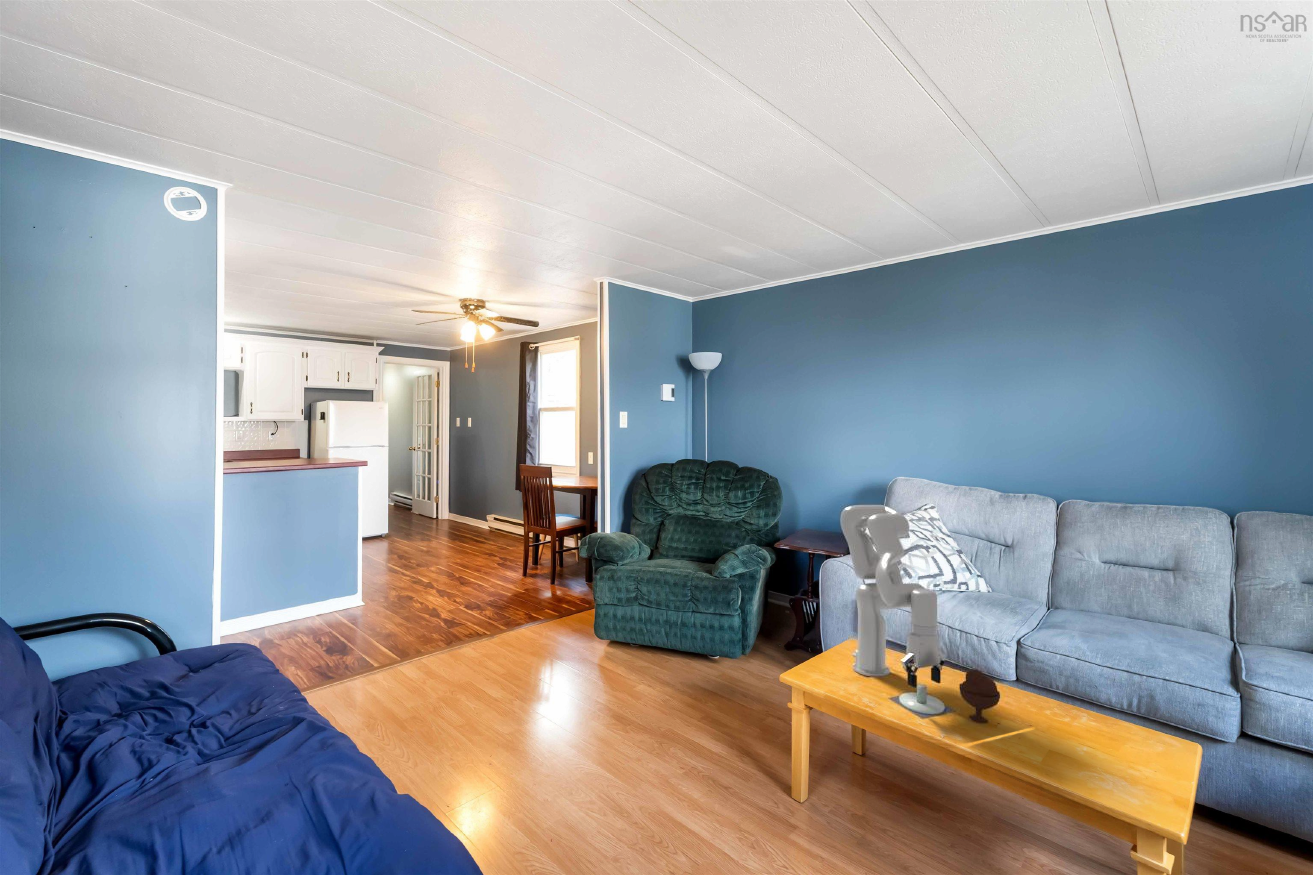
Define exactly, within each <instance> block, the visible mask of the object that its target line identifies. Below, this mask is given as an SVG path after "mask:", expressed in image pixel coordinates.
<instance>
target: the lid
mask: <svg viewBox="0 0 1313 875" xmlns="http://www.w3.org/2000/svg"><path fill="white" fill-rule="evenodd" d="M916 692H917V693H916ZM916 692H904V693H902V694H900V695H899V696H900V697H899V701H900V703H901V704H902V705H903V706H904V707H905V708H907V709H909V710H911V711H914V712H917V713H922V714H929V715H935V714H940V713H942V712H944V709H945V706H944V704H945V703H943V701H942V700H940V699H938V698H937V697H934V696H932V695H929V694H927V693H928V687H927V685H925V684H921V683H920V684H919V683H917V688H916ZM905 708H904V709H905ZM907 709H906V710H907Z"/></svg>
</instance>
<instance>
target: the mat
mask: <svg viewBox="0 0 1313 875" xmlns="http://www.w3.org/2000/svg"><path fill="white" fill-rule="evenodd" d="M915 693H917V691H916V692H915ZM899 697H900V695H896V696H891V697H888V698H887V699H889V700H890V701H892V702H893V703H895V704H897V705H899V706H900V707H902V708H903V709H905V710H907V711H908V712H910V713H912V714H914V715H915V716H917V717H918V718H920V719H922V720H923V719H924V720H925V719H928V718H932V717H938V716H941V715H946V714H951V713H955V712H957V710H956V709H954V708H953V707H951V706H949V705H947V704H945V703H943V704H944V706H945V709H944V712H942V713H940V714H935V715H929V714H922V713H917V712H914V711H911V710H909V709H907V708H905V707H904V706H903V705H902V704H901V703H900V701H899Z"/></svg>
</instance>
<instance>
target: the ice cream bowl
mask: <svg viewBox="0 0 1313 875" xmlns="http://www.w3.org/2000/svg"><path fill="white" fill-rule="evenodd" d="M958 686H959V687H958V688H959V692H960V696H961V698H962V699H963V700H964V701H965V702H966V704H968V705H970V706H971V707H973V708H974V709H975V713H974V714H972V715H969V717H968V719H969V720H970V721H972V722H974V723H978V724H983V725H985V724H988V723H989V719H987V718H986V717H984V716H983V711H984V710H987V709H988V710H989V709H992V708H994V707H995V706H997V705H998V703H999V702H1000V698H1001V693H1000V691H999V690H998V686H997V684H996V682H995V681H994V680H993V679H992V678H990V677H988V676H986V675H985V674H984V673H983V671H981V670H979V669H977V668H976V669H975V668H973V669H970V670H968V671H967V672H966V673H965V680H964V681H963V682H962V683H959V685H958Z"/></svg>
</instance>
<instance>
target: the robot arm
mask: <svg viewBox="0 0 1313 875" xmlns="http://www.w3.org/2000/svg"><path fill="white" fill-rule="evenodd" d="M840 527H841V530H842V533H843V536H844V538H845V540H846V542H847V545H848V548H849V553H850V557H851V562H852V566H853V571H854V573H855V575H856V577H857V578H858V579H860V580H863V581H865V580H866V581H867V580H868V581H869V580H870V581H871V580H875V582H867V583H863V584H861V585H859V586H858V587H857V589H856V592H855V599H856V600H855V601H856V605H857V616H858V617H857V623H858V624H857V649H856V650H855V651H854V652H853V653H852V654H851V656H852V658H855V661H854V662H853V664H852V669H853V671H855V672H856V673H857V674H860V675H863V676H866V677H871V678H875V677H886V676H888V675H890V674H891V669H890V667H889V666H887V665H886V658H887V657H886V651H887V649H886V646H887V645H886V644H887V622H886V619H885V618H884V616H883V614H882V613H881V611H884V610H885V611H886V610H887V611H888V610H898V609H901V608H910V632H908V637H907V641H906V642H907V643H906V652H905V654H906V655H905V657H903V658H902V659H901V660H900V662H901V664H902V666H903V667H902V668H903V669H904V670H905V672H906V673H907V682H906V683H907V686H910V687H912V688H914V689H917V685H918V675H917V674H916V673H917V672H918V670H919V669H924V668H929V667H930V680H931V681H932V682H934V683H936V684H941V683H942V682H941V671H942V670H943V666H944V664H945V660H946V657H947V654H946V653H943V652H942V651H941V643H940V639H939V634H938V628H939V625H938V595H937V594H938V593H936V591H934V590H932V589H929V588H925V587H924V586H923V585H922V584H919V583H915V582H910V583H909V582H907V583H905V582H903V579H902V578H903V577H902V573H901V570H900V567H899V564H898V561H899V560H901V559H902V558H903V557H904V555H905V549H904V548H903V545H902V543H901V540H900V538H903V537H906V536H907V535H908V534H909V532H910V524H909V521H908V519H907V518H906V516H904V514H902V513H900V512H899V511H896V509H893V508H891V507H890V506H886V505H883V504H857V505H850V506H847V507H845V508H844V509H842V512H841V514H840ZM865 528H866V529H867V530H868V533H869V535H868V534H867V533H866V532H865V531H864V530H863V529H865ZM869 536H870V537H869ZM874 547H875V549H874ZM875 550H876V551H875Z"/></svg>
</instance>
